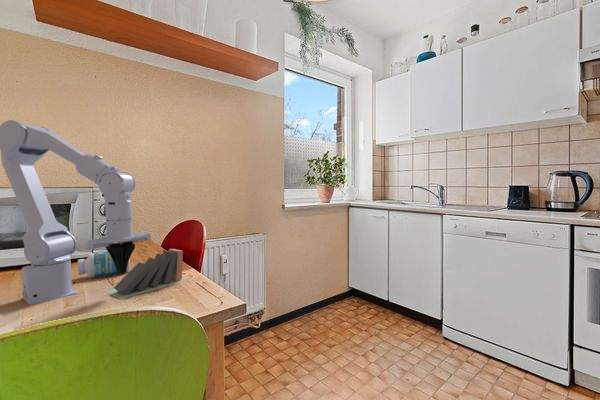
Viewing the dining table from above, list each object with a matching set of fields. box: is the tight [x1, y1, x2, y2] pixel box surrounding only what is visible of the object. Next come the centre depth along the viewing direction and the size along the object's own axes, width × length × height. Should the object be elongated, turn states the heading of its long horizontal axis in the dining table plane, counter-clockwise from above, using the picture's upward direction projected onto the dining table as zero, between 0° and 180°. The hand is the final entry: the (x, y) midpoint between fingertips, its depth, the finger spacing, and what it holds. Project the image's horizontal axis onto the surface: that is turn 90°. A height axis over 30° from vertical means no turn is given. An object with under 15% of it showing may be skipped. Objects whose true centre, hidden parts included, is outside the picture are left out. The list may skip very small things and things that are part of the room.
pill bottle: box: [77, 251, 131, 278], centre depth 94 cm, size 8×7×14 cm
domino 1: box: [113, 262, 152, 295], centre depth 78 cm, size 2×5×8 cm
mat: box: [104, 277, 188, 300], centre depth 83 cm, size 18×10×1 cm, turn 143°
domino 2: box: [134, 257, 162, 291], centre depth 81 cm, size 2×5×8 cm
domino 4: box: [160, 250, 178, 283], centre depth 86 cm, size 2×5×8 cm, turn 53°
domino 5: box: [168, 248, 184, 281], centre depth 88 cm, size 2×5×8 cm, turn 53°
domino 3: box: [148, 253, 171, 287], centre depth 83 cm, size 2×5×8 cm, turn 53°
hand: (121, 272), depth 76 cm, fingers closed
